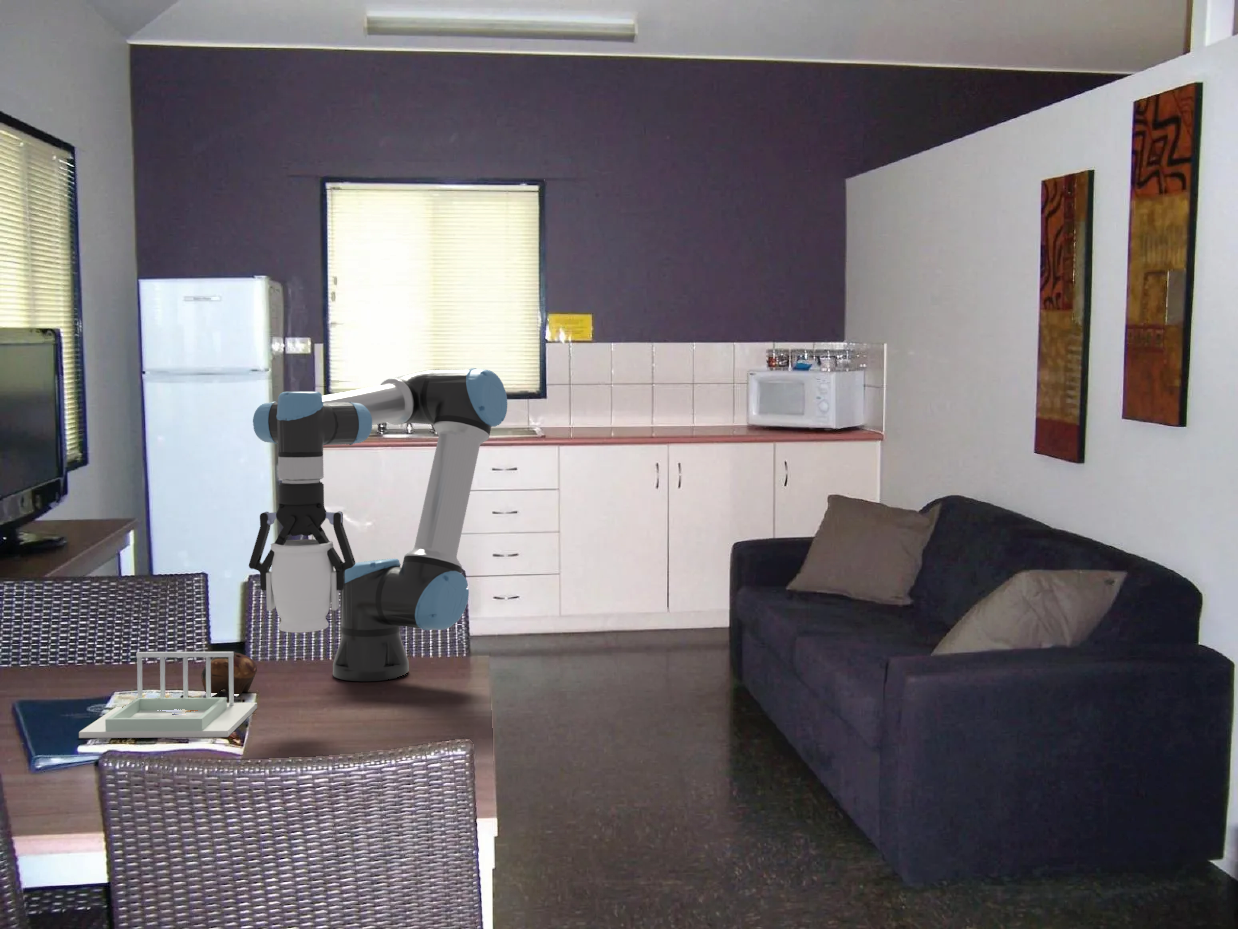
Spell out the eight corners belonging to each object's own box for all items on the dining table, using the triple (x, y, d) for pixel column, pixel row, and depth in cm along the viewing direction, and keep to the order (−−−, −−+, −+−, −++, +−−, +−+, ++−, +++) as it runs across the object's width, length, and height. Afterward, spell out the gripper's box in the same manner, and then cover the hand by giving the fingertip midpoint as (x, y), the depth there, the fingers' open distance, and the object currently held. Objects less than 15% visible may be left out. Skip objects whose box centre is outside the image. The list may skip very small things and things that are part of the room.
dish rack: (257, 708, 218) (256, 649, 218) (227, 737, 199) (227, 673, 199) (121, 709, 217) (120, 650, 217) (79, 738, 198) (77, 673, 198)
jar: (301, 637, 202) (300, 547, 201) (259, 630, 208) (257, 543, 207) (347, 626, 211) (346, 541, 210) (305, 620, 217) (304, 537, 216)
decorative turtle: (192, 704, 221) (190, 660, 221) (215, 690, 236) (213, 649, 236) (246, 700, 222) (244, 656, 222) (265, 687, 237) (263, 646, 237)
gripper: (371, 479, 212) (373, 604, 214) (239, 480, 211) (241, 606, 213) (364, 482, 205) (366, 612, 206) (227, 483, 204) (230, 613, 205)
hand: (303, 609), depth 209 cm, fingers closed on jar, 10 cm apart
